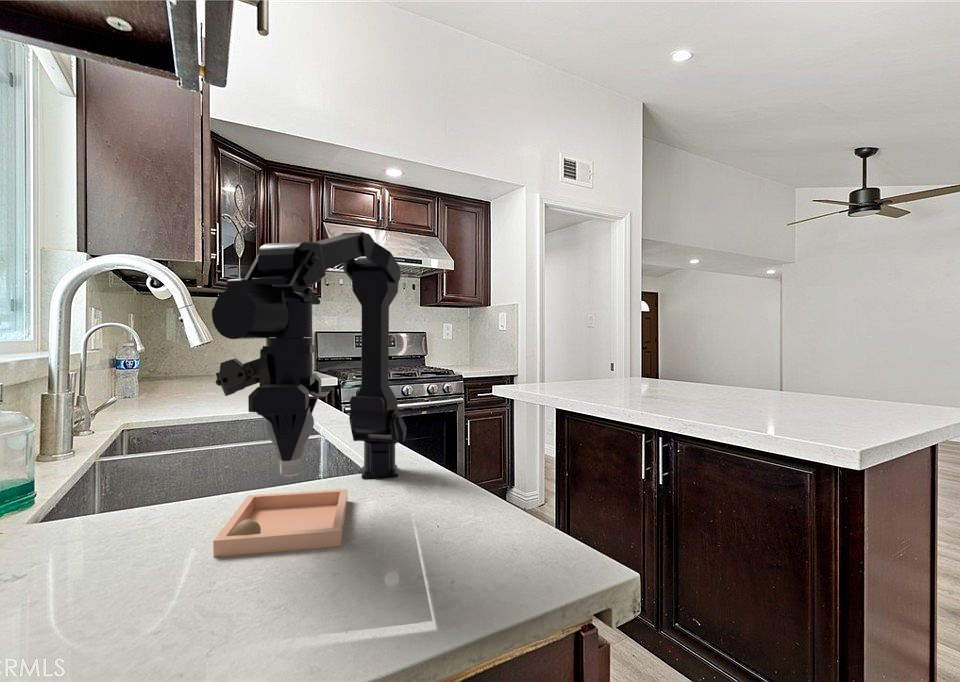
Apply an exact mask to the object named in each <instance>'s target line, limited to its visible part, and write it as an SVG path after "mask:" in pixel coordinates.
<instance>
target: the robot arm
mask: <svg viewBox="0 0 960 682" xmlns="http://www.w3.org/2000/svg"><path fill="white" fill-rule="evenodd" d="M258 252H259V253H258V255H257V256H256V257H255V259H254V261H253V263H252V264H251V267H250V268H249V270H248V271H247V273H246V275H245V277H244V279H243V278H242V279H241V278H238V279H237V278H236V279H235V278H234V279H233V278H232V279H228V280H226V286H227V287H226V290H224V291H223V292H222V293H221V294H220V295H219V296H218V297H217V299H216V300H215V302H214V306H213V308H212V309H211V319H212V322H213V325H214V328H215V329H216V331H217V332H218V333H219V334H220V336H222V337H224V338H226V339H230V340H246V339H247V340H250V339H251V340H252V339H253V340H254V339H265V345H262V348H260V350H259V358H256V359H254V360H250V361H247V362H244V363H242V362H241V360H239V359H237V358H232V359H228V360H226V361H223V362H220V365H219V371H218V372H216V373H215V375H216V380H215V384H216V385H217V386H219V387H221V389H222V392H223V394H224V396H225V397H228V396H231V395H233V394H236V392H239V391H242V390H245V388H248V387H250V386H253V385H256V384H259V386H258V387H256V388H255V389H254V390H252V391H251V393H249V395H248V400H247V401H248V413H256V414H257V415H258V416H261V417H262V418H264V419H265V420H266V419H267V420H268V421H269V422H270V423H271V425H272V428H273V431H274V435H275V438H276V442H277V445H278V449H279V452H280V456H281V459H282V461H290V460H291V459H292V457H293V454H294V451H295V449H296V446H297V443H298V440H299V438H300V435H301V432H302V429H303V427H304V424H305V421H306V419H307V416H308V413H309V410H310V412H311V413H312V414H313V412H314V409H315V407H316V406H317V402H318V401H319V396H318V395H317V396H315V395H311V396H310V393H311V392H314V393H315V394H321V392H322V379H321V378H320V377H319V376H318V375H317V374H316V373H313V372H314V371H313V369H314V368H313V366H314V365H313V353H315V344H313V305H315V306H316V305H317V306H318V305H320V304H321V299H320V298H319V297H318V295H316V294H315V293H314V292H313V291H312V289H311V287H312V286H313V285H315V284H317V283H318V282H319V281H320V280H322V279H324V278H325V277H326V275H327V273H326V271H328V269H330V268H333V267H336V266H338V265H342V264H343V269H342V270H343V272H344V274H346V275H347V277H348V278H349V279H350V280H351V285H352V286H351V289H352V292H353V294H354V296H355V297H356V299H357V300H358V302H359V304H360V306H361V337H360V338H361V339H360V340H361V342H360V343H361V344H360V345H361V346H360V347H361V351H360V352H361V353H360V354H361V357H360V358H361V359H360V360H361V363H360V364H361V365H360V367H361V370H360V373H361V375H360V376H361V377H360V378H361V380H360V381H361V382H360V387H359V389H358V391H357V392H356V394H355V395H354V396H353V395H352V396H351V397H350V399H349V407H350V408H349V409H350V412H349V417H348V419H349V424H350V430H351V431H350V432H351V435H352V441H353V442H363V466H361V479H371V478H387V477H388V478H389V477H398V476H399V469H398V465H397V464H396V444H399V443H403V442H405V440H406V435H407V426H406V423H405V422H404V419H403V417H402V415H401V413H400V411H399V408H398V399H397V397H396V395H395V394H394V392H393V390H392V388H391V386H390V385H389V380H390V379H389V376H390V375H389V372H390V371H389V365H390V364H389V361H390V356H389V355H390V353H389V350H390V349H389V347H390V346H389V345H390V344H389V342H390V337H389V336H390V335H389V333H390V331H389V330H390V329H389V328H390V327H389V326H390V325H389V324H390V323H389V322H390V321H389V320H390V305H391V304H392V302H393V301H394V299H395V298H396V296H397V295H398V291H399V281H401V268H400V266H399V262H397V260H396V259H395V257H394V255H393V254H392V252H391V251H390V250H388V249H386V248H385V247H384V246H382V245H380V244H379V243H377V242H375V240H374V239H373V237H372V235H371V234H369V233H367V232H364V231H359V232H343V233H342V234H339V235H337V236H332V237H328V238H325V239H320V240H317V241H293V242H276V243H275V242H274V243H273V242H271V243H264V244H263V245H261V246H260V247H259V248H258ZM309 286H310V287H309Z"/></svg>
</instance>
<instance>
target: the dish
mask: <svg viewBox="0 0 960 682" xmlns="http://www.w3.org/2000/svg"><path fill="white" fill-rule="evenodd" d="M348 492H349V491H348V489H347V488H342V489H329V490H328V489H325V490H312V491H311V490H310V491H293V492H280V493H265V494H262V493H261V494H248V495H247V496H246V498H245V499H244V500H243V501H242V503H241V504H240V505H239V506H238V508H237V509H236V510H235V511H234V513H233V515H232V516H231V517H230V518H229V520H228V521H227V523H225V525H224V527H222V528H221V530H220V531H219V533H218V534H217V536H216V537H215V538H214V539H213V542H212V543H213V549H212V551H213V556H212V557H213V558H216V557H227V556H228V557H229V556H236V555H237V556H238V555H252V554H262V553H263V554H264V553H274V552H275V553H276V552H284V551H287V552H288V551H298V550H309V549H319V548H320V549H321V548H332V547H333V548H334V547H341V546H342V545H341V544H342V540H343V532H344V527H345V519H346V514H347V508H348V507H347V506H348V500H349V499H348V494H349V493H348ZM247 519H252V520H255V521H256V522H258V524H259V525H260V528H261V533H260V534H251V535H238V536H233V533H234V529H235V527H236V526H237V525H238V524H239V523H240V522H241V521H243V520H247Z"/></svg>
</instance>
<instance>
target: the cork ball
mask: <svg viewBox="0 0 960 682" xmlns="http://www.w3.org/2000/svg"><path fill="white" fill-rule="evenodd" d="M260 533H261V528H260V525H259V524H258V522H256V521H255V520H252V519H247V520H243V521H241V522H240V523H239V524H238V525H237V526H236V527H235V529H234V533H233V536H238V535H251V534H260Z"/></svg>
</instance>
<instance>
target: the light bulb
mask: <svg viewBox="0 0 960 682" xmlns="http://www.w3.org/2000/svg"><path fill="white" fill-rule="evenodd" d="M314 425H315V419H314V415H313V412H312V413H311V412H310V410H309V413H308V416H307V419H306V421H305V424H304V427H303V429H302V432H301V435H300V438H299V440H298V443H297V446H296V449H295V451H294V454H293V457H292V459H291V460H290V461H282V459H281V456H280V452H279V449H278V445H277V442H276V438H275V435H274V431H273V428H272V425H271V423H270V422H269V421H268V420H267V419H265V431H266V434H267V437H268V438H269V439H270V442H272V445H273V446H274V447H275V450H276V455H277V458H278V459H279V460H278V461H279V475H280V476H284V477H286V478H294V477H296V476H297V475H299V474H300V473H302V470H301V469H302V467H301V466H302V465H301V463H302V462H301V461H302V456H303V455H304V451H305V449H304V448H305V445H306V444H307V441H308V440H309V438H310V436H311V435H312V432H313V430H314V427H315V426H314Z"/></svg>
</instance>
